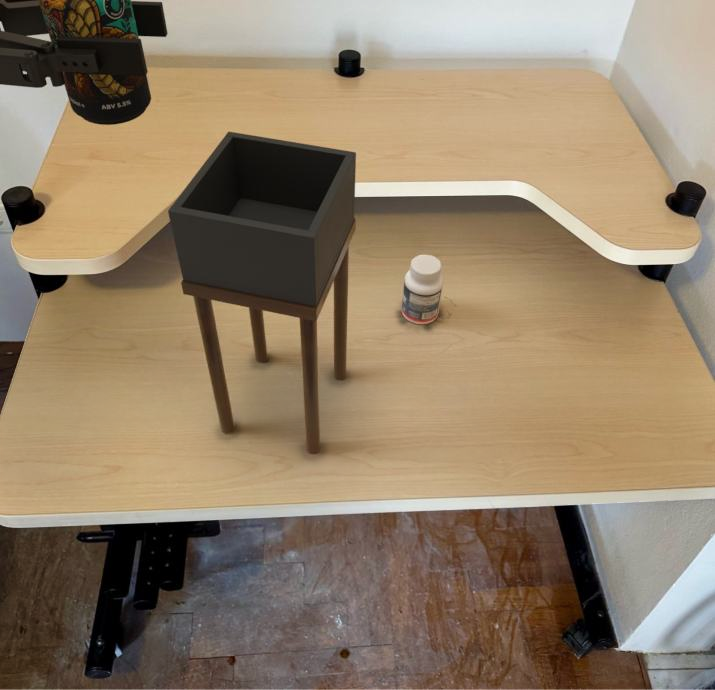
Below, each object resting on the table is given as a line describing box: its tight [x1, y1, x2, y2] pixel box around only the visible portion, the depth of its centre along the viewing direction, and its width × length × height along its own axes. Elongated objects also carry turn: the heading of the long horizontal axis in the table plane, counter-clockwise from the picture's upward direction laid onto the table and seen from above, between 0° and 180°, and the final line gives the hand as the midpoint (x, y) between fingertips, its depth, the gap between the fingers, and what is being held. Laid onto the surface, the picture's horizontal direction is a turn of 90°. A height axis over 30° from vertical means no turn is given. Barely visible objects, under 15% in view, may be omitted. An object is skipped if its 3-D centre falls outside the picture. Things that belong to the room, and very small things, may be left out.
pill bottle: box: [401, 254, 444, 325], centre depth 91 cm, size 5×5×9 cm
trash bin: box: [167, 131, 357, 307], centre depth 62 cm, size 13×13×8 cm
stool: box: [180, 217, 357, 455], centre depth 74 cm, size 14×13×24 cm
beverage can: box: [39, 0, 152, 126], centre depth 57 cm, size 7×7×12 cm
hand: (153, 37), depth 57 cm, fingers closed on beverage can, 7 cm apart
